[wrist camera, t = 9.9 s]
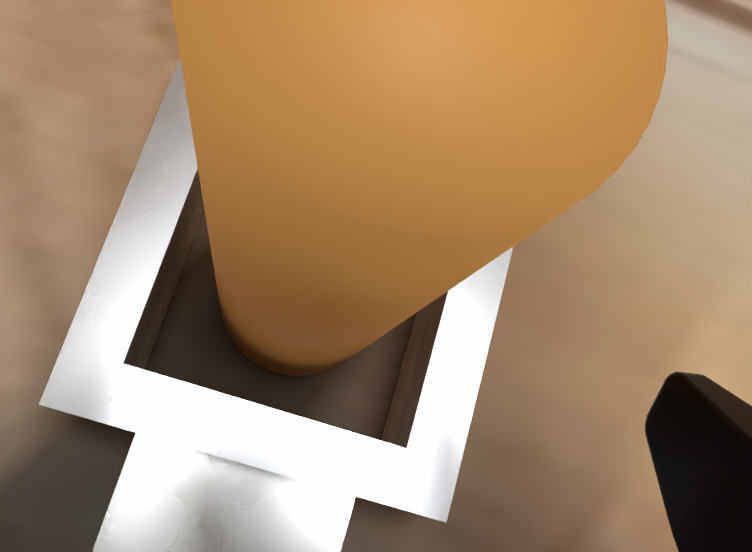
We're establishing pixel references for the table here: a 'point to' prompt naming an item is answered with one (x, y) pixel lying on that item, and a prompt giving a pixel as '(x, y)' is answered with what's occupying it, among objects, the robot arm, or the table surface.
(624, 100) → the pin
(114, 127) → the table surface
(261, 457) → the grey peg socket block
